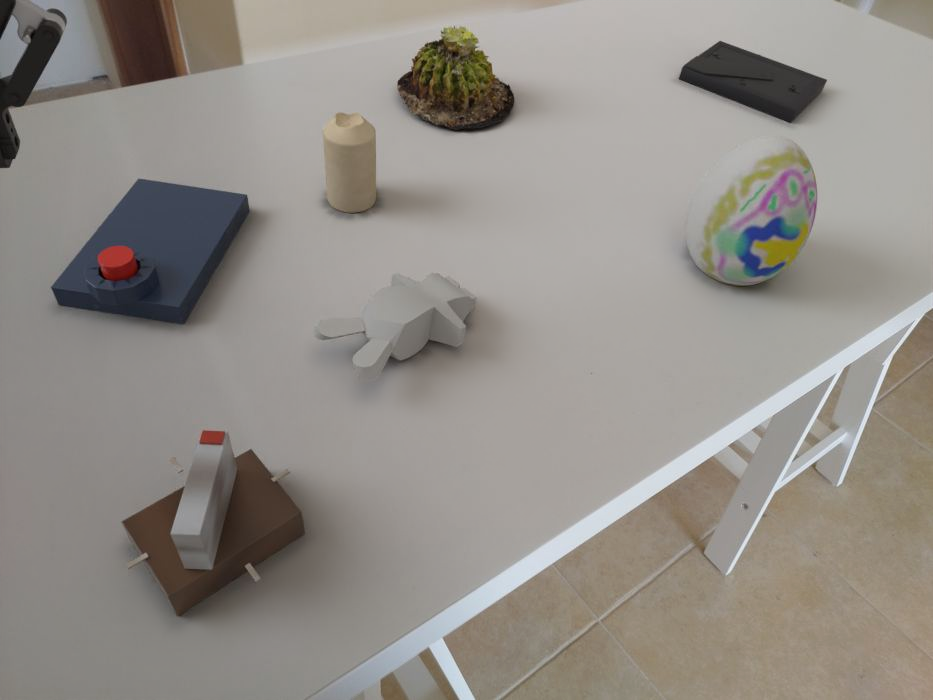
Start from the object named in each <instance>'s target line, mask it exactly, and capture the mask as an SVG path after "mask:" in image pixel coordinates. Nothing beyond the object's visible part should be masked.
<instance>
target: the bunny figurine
mask: <svg viewBox="0 0 933 700" xmlns="http://www.w3.org/2000/svg"><path fill="white" fill-rule="evenodd" d="M476 302H477V296H476V295H475V294H474V293H473V292H471V291H470V290H468V289H467V288H466V287H461V284H460V283H459V282H457V280H455V279H454V278H452V277H451V276H450V275H449V276H446V277H444V276H443V275H441V274H440V273H435V272H430V273H429V274H427V275H426V276H425V278H424V279H423V281H422V282H420V281H417V280H415V279H413V278H410V277H408V276H406V275H404V274H401V273H395V274H391V281H390V285H389V286H387V287H384V288H381V289H379V290H377V291H376V292H374V293H373V294H371V295H370V296H369V298H368V300H367V302H366V304H365V306H364V308H363V310H362V311H361V315H360V316H359V317H341V318H340V317H339V318H325V319H321V320H319V322H318V323H317V324H316V326H315V328H314V330H313V332H312V333H313V336H314V337H315V338H316V339H318V340H321V341H328V340H335V339H339V338H344V337H348V336H352V335H357V334H363V336H365V337H366V338H367V340H368V341H367V342H366V343H365V344H364V345H362V347H361V348H360V349H359V350H357V352H355V353H354V354H353V356H352V359H351V361H352V365H353V368H354V371H355V375H357V377H358V378H359V379H362V380H364V381H374V380H376V379H377V378H379V376H380V375H381V373H382V371H383V369H384V367H385V366H386V364H387V362H388V360H389V358H390V357H392V358H394V359H396V360H397V361H400V362H401V361H404V360H407V359H409V358H411V357H412V356H414V355H416V354H418V353H419V352H420V351H421V350H422V349H423V348H424V347H425V345H426V344H427V343H428V342H429V340H430V341H434V342H438V343H442V344H444V345H449V346H452V347H456V348H458V347H459V346H460V345H462V344H463V343H464V339H465V335H466V330H467V325H466V324H465V323H464V321H465V320H466V318H467V317H468V315H469V313H470V312H472V311H473V310H475V306H476Z"/></svg>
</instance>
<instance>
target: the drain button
mask: <svg viewBox="0 0 933 700" xmlns="http://www.w3.org/2000/svg"><path fill="white" fill-rule="evenodd" d="M98 263H99V265H100V268H101V271H102V274H103V276H104V277H105V278H106V279H107V280H110V281H121V280H126V279H129V278H130V277H132V276H134V275H136V273H137V272H138V266H137V262H136V259H135V256H134V253H133V251H132V250H131V249H130V248H128V247H125V246H113V247H109V248H107V249H105V250H103V251H102V252H101V253H100V254H99V256H98Z"/></svg>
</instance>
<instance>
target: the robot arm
mask: <svg viewBox="0 0 933 700" xmlns="http://www.w3.org/2000/svg"><path fill="white" fill-rule="evenodd" d="M12 16H13V17H14V19H15V20H16V22H17V29H16V30H17V31H16V32H17V33H16V35H17V37H18V38H19V39H20V41H22V43H24V44H26V47H25V48H24V51H23V52H22V55H21V56H20V58H19V60H18V61H17V63H16V66H15V68H14V70H13V71H12V73H11V74H9V75H7V76H2V73H1V71H0V169H10V168H11V165H12V163H13V161H14V160H16V158H17V156H18V153H19V150H20V146H21V139H20V136H19V134H18V131H17V129H16V126H15V123H14V120H13V117H12V115H11V112H10V109H9V108H10V107H14V108H21V107H23V106H25V105H26V103H27V101H28V100H29V97H30V96H31V94H32V92H33V90H34V89H35V87H36V85H37V84H38V81H39V80H40V78H41V76H42V75H43V72H44V71H45V68H46V67H47V65H48V63H49V62H50V60H51V58H52V56H53V55H54V53H55V51H56V49H57V47H58V46H59V44H60V42H61V40H62V37H63V35H64V32H65V29H66V26H67V24H68V19H67V16H66V15H65V13H64V12H62V11H61V10H60V9H58V8H53V7H52V8H48V9H44V8H43V7H41V6H39V5H37V4H36V3H34V2H32V1H31V0H0V41H1V40H2V38H3V35H4V33H5V31H6V29H7V27H8V24H9V23H10V19H11V17H12Z"/></svg>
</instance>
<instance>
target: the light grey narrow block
mask: <svg viewBox="0 0 933 700" xmlns="http://www.w3.org/2000/svg"><path fill="white" fill-rule="evenodd" d="M235 458H236V457H235V453H234V450H233V446H232V441H231V438H230V434H229V431H228V430H227V431H226V430H207V429H206V430H205V429H204V430H203V429H202V430H201V432H200V435H199V438H198V442H197V445H196V448H195V452H194V454H193V458H192V462H191V464H190V468H189V471H188V473H187V478H186V481H185V484H184V486H185V488H184V491H183V494H182V497H181V501H180V504H179V507H178V510H177V514H176V517H175V520H174V524H173V527H172V530H171V533H170V534H171V536H172V539H173V541H174V544H175V546H176V548H177V551H178V553H179V556H180V558H181V560H182V563H183V565H184V568H185V569H206V570H212V569H213V565H214V561H215V557H216V553H217V549H218V545H219V541H220V537H221V533H222V529H223V525H224V521H225V517H226V513H227V509H228V505H229V501H230V497H231V493H232V489H233V485H234V481H235V477H236V473H237V465H236V461H235Z"/></svg>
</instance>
